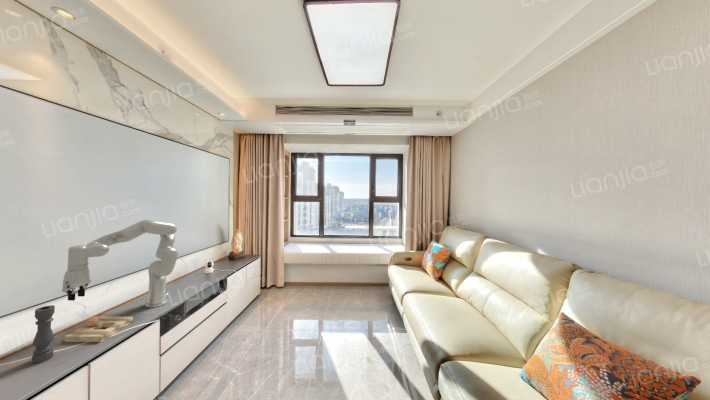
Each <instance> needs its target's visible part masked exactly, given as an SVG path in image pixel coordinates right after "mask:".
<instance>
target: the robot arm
mask: <svg viewBox="0 0 710 400" xmlns="http://www.w3.org/2000/svg"><path fill="white" fill-rule="evenodd" d="M177 231H178V229H177V226H176V225H175V224H173V223H170V222H161V221H160V222H159V221H154V220H151V219H143V220H139V221H138V222H136V223H134V224H131V225H130V226H127V227H125V228H123V229H121V230H117V231H114V232H112V233H109V234H106V235H103V236H100V237H98V238H96V239H94V240H91V241H90V242H88V243H87V244H79V245H73V246H69V247H68V250H67V253H68V254H67V270H65V273H64V275H63V280H62V288H61V292H62V293H65V294H67V301H75V300H76V288H78V289H77V297H85V295H86V290H87V287H88V285H90V283H91V281H92V280H91V279H90V276H91V275H90V269H89V258H97V257H103V256H105V255H107V254H108V253H109V251H110V246H113V245H116V244H120V243H127V242H131V241H133V240H134V239H137V238H138V237H140V236H142V235H145V234H146V233H147V234H151V235H159V236H160V237H159V239H160V240H159V243H158V247H157V249H156V253H155V257H156V258H157V259H158V260H155V261H153V262H151V263H149V266H148V282H149V283H148V294H147V295H148V296H147V297H148V298H147V301H146V302H145V303H144V307H145V308H146V307H147V308H157V307H161V306H163V305H166V304H167V303H168V300H169V299H167V298H166V297H167V296H169V293H168V292H167V293H166V287H167V286H166V285H167V277H168V276H170V275H171V274H172V273H173V272H174V269H175V267H176V263H177V260H178V256H179V252H178V250H177V249H176V248H174V244H175V239H176V236H175V235H176V232H177ZM159 259H160V260H159Z"/></svg>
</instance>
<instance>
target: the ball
mask: <svg viewBox="0 0 710 400" xmlns="http://www.w3.org/2000/svg"><path fill="white" fill-rule="evenodd" d="M99 318H100V317H97V316H92V317H89V318H88V319H87V320H86V322H85V325H87V326H94V325H96V324H97V323H98V322H99Z"/></svg>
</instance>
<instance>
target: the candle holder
mask: <svg viewBox="0 0 710 400" xmlns="http://www.w3.org/2000/svg"><path fill="white" fill-rule="evenodd" d="M55 309H56V306H55V305H44V306H41V307H37V308H35V310H34V318H35V320H37V321H35V325H37V328H36V329H37V332H36V333H35V336H34V338H33V342H32V345H33V346H34V347H35V350H33V353H32V355H31V364H35V365H36V364H40V363H45V362H47V361H49V360H51V359H52V358H53V357H54V353H55V352H54V346H53V345H52V342H53V341H54V339H55V336H54V332H53V330H52V322H53V321H54V318H53V315H54V313H55V311H56V310H55Z"/></svg>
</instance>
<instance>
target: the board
mask: <svg viewBox="0 0 710 400" xmlns="http://www.w3.org/2000/svg"><path fill="white" fill-rule="evenodd" d="M98 318H99V322H98V323H97V324H96V325H94V326H87V325H86V324H85V325H83V326H81V327H80V328H78V329H76V330H74V331H72V332H70V333H68V334H66V335H64V343H66V342H67V343H73V342H74V343H77V342H78V343H79V342H80V343H81V342H83V343H92V342H93V343H101V342H103V341H105V340H107V339H108V338H110V337H111V336H113V335H114V334H116V333H117V332H119V331H120V330H122V329H123V328H126V327H127V326H128V325H130V324H131V323H133V322H134V317H133V316H100V317H98ZM103 328H105V329H103Z"/></svg>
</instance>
